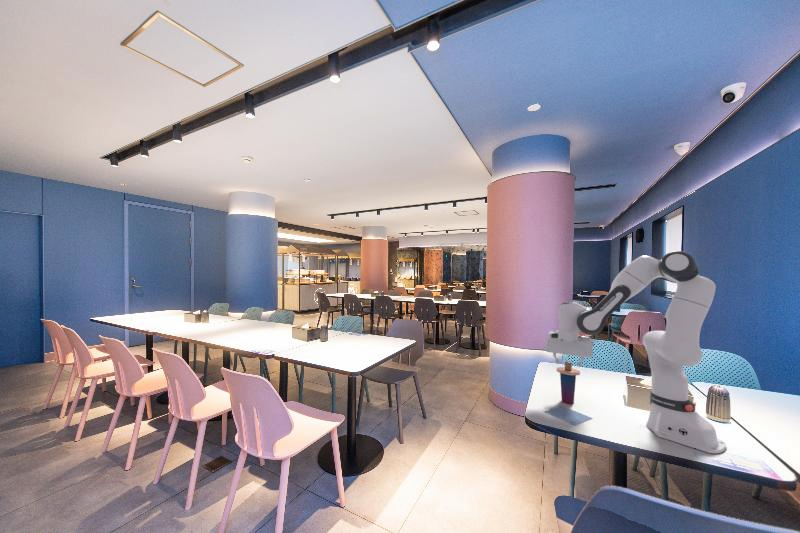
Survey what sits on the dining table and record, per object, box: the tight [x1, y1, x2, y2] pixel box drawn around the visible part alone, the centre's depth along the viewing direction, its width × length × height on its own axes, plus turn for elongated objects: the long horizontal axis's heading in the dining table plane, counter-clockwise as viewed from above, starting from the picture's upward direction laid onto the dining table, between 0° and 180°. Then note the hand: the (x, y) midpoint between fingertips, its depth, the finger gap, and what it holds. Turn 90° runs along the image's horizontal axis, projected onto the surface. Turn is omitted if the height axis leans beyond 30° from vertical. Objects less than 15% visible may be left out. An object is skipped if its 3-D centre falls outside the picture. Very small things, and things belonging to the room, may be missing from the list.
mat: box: [544, 405, 594, 427], centre depth 133 cm, size 14×13×1 cm
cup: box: [559, 373, 577, 405], centre depth 147 cm, size 7×7×15 cm
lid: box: [556, 360, 581, 376], centre depth 147 cm, size 10×10×5 cm
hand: (568, 363), depth 147 cm, fingers open, 8 cm apart
